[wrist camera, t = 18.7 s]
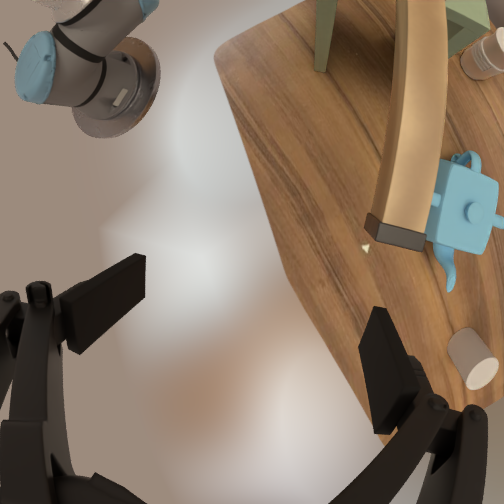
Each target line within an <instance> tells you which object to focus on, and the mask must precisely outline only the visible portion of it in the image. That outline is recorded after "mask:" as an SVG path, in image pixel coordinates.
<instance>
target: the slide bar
mask: <svg viewBox="0 0 504 504" xmlns="http://www.w3.org/2000/svg"><path fill="white" fill-rule="evenodd" d="M447 83H448V35H447V18H446V7H445V0H396V31H395V52H394V67H393V79H392V89H391V98H390V107H389V114H388V122H387V129H386V135H385V142H384V148H383V154H382V160H381V165H380V171H379V176H378V181H377V186H376V191H375V195H374V200H373V205H372V209H371V213H367V217H366V221H365V225H364V229H365V230H366V231H367V232H368V233H369V234H370V235H371V237H372V238H373V239H374V240H375V241H377V242H381V243H385V244H389V245H394V246H398V247H402V248H406V249H410V250H414V251H418V252H422V251H423V248H424V245H425V241H426V238H427V234H425V233H424V231H425V227H426V223H427V219H428V215H429V211H430V207H431V202H432V198H433V193H434V188H435V183H436V178H437V172H438V167H439V161H440V154H441V148H442V140H443V132H444V124H445V113H446V101H447Z"/></svg>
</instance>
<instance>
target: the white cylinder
mask: <svg viewBox="0 0 504 504" xmlns="http://www.w3.org/2000/svg"><path fill="white" fill-rule="evenodd" d="M447 352H448V354H449V356H450V358H451V359H452V361H453V363H454V364H455V366H456V368H457V370H458V371H459V373H460V375H461V377H462V378H463V380H464V382H465V384H466V386H467V387H468V388H469V389H471V390H476V389H479V388H482V387H483V386H485V385H486V384H487V383H489V382H490V381H491V380H492V378H493V377H494V376H495V374H496V372H497V370H498V366H499V363H498V360H497V359H496V357H495V356H494V355H493V354H492V352H491V351H490V350H489V348H488V347H487V346H486V344H485V343H484V342H483V341H482V339H481V338H480V337H479V336H478V334H477V333H476V332H475V331H474V330H473V329H472V328H463V329H461V330H459V331H458V332H456V333H455V334H454V335H453V336H452V338H451V339H450V341H449V343H448V346H447Z"/></svg>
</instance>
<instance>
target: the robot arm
mask: <svg viewBox="0 0 504 504" xmlns="http://www.w3.org/2000/svg"><path fill="white" fill-rule="evenodd" d="M33 1H35V2H37V3H40V4H42V5H44V6H47V7H49V8H51V9H52V19H53V21H55V22H56V25H55V26H54V27H53V28H52V29H51V31H50V32H48V31H41V32H38V33H37V34H36V35H33V36H32V37H31V38H30V39H29V41H28V42H27V43H26V45H25V46H24V48H23V50H22V52H21V54H20V56H19V58H18V57H17V56H16V55H15V53H14V51H13V50H12V49H11V47H10V46H9V45H8V44H7V43H6V42H4V43H3V44H4V45H5V46H6V47H7V48H8V50H9V51H10V52H11V54H12V56H13V57H14V59H15V60H16V61H17V66H16V73H15V88H16V91H17V93H18V96H19V97H20V98H21V99H22V100H24V101H27V102H32V103H36V104H50V105H59V106H68V107H75V108H76V109H78V110H79V111H80V112H82V113H83V114H85V115H86V116H88V117H90V118H92V119H97V120H107V119H110V118H113V117H115V116H117V115H118V114H120V113H121V112H122V111H123V110H124V109H125V108H126V107H127V106H128V104H129V103H130V102H131V100H132V98H133V97H134V95H135V92H136V90H137V87H138V83H139V68H138V65H137V63H136V61H135V59H134V58H133V57H132V56H130V55H128V54H126V53H124V52H121V51H112V50H113V49H114V48H115V47H116V46H117V45H118V44H119V43H120V42H121V41H122V40H123V39H124V38H125V37H126V36H127V35H128V34H129V33H130V32H131V31H133V30H134V29H135V28H136V27H137V26H138V25H139V24H140V23H142V22H144V20H145V19H146V18H147V17H148V16H149V15H150V14H151V13H152V12H153V11H154V10H155V9H156V8H157V7H158V4H159V0H33ZM145 270H146V256H145V255H141V254H137V253H134V254H133V255H131V256H129V257H127V258H126V259H124V260H122V261H120V262H119V263H117V264H115V265H113V266H111V267H110V268H108V269H106V270H105V271H103V272H101V273H99V274H98V275H96V276H94V277H93V278H91V279H89V280H87V281H83V282H80V283H78V284H76V285H74V286H73V287H71V288H69V289H68V290H67V291H64V292H63V293H61V294H59V295H58V296H56V297H55V298H53V296H52V289H51V284H50V283H48V282H46V281H35V282H32V283H30V284H29V285H27V287H26V293H27V299H28V303H24V302H21V300H20V296H19V293H17V292H15V291H5V292H3V293H1V294H0V409H1V406H2V404H3V401H4V399H5V396H6V394H7V391H8V389H9V386H10V384H11V382H12V379H13V382H12V390H11V400H10V411H9V420H3V421H2V422H1V428H0V484H1V487H0V504H147V503H145V502H144V501H142V500H141V499H140V498H138V497H137V496H135V495H134V494H133V493H131V492H130V491H129V490H127V489H126V488H125V487H123V486H121V485H119V484H117V483H115V482H113V481H111V480H109V479H106V478H105V477H103V476H101V475H99V474H98V473H96V472H95V473H94V475H93V476H92V477H91V478H89V477H85V476H77V475H75V473H74V471H73V468H72V464H71V459H70V453H69V447H68V440H67V431H66V422H65V411H64V397H63V371H62V370H63V369H62V368H63V367H62V354H63V351H62V350H63V349H62V344H61V343H62V342H63V341H64V340H65V339H66V341H67V346H68V349H69V350H71V351H73V352H75V353H77V354H79V355H80V354H82V353H83V352H84V351H85V350H86V349H87V348H88V347H89V346H90V345H92V344H93V343H94V342H95V341H96V340H97V339H98V338H99V337H100V336H102V335H103V334H104V333H105V332H106V331H107V330H108V329H109V328H110V327H112V326H113V325H114V324H115V323H116V322H117V321H118V320H120V319H121V318H122V317H123V316H124V315H125V314H127V313H128V312H129V311H130V310H131V309H132V308H133V307H134V306H136V305H137V304H138V303H139V302H140V301H141V300H143V298H145ZM358 349H359V353H360V358H361V363H362V368H363V372H364V378H365V383H366V388H367V393H368V399H369V405H370V411H371V417H372V423H373V429H374V434H384V435H390V434H391V433H392V432H393V430H394V429H395V427H396V426H397V429H398V432H397V433H396V434H395V435H394V436H393V438H392V439H391V440H390V441H389V442H388V444H387V445H386V446H385V447H384V448H383V450H382V451H381V452H380V453H379V454H378V455H377V456H376V457H375V458H374V460H373V461H372V462H371V463H370V464H369V465H368V466H367V467H366V468H365V469H364V470H363V471H362V472H361V473H360V474H359V475H358V476H357V477H356V478H355V479H354V480H353V481H352V482H351V483H350V484H349V485H348V486H347V487H346V488H345V489H344V490H343V491H342V492H341V493H340V494H339V495H338V496H336V497H335V498H334V499H333V500H332V501H331V502H330V503H328V504H389V503H390V502H391V500H392V499H393V498H394V496H395V495H396V494H397V493H398V491H399V490H400V489H401V487H402V486H403V485H404V483H405V482H406V481H407V479H408V478H409V476H410V475H411V474H412V472H413V471H414V469H415V468H416V466H417V465H418V463H419V462H420V460H421V459H422V457H423V455H424V454H425V452H429V453H431V457H430V461H429V465H428V469H427V472H426V476H425V479H424V482H423V486H422V489H421V492H420V495H419V497H418V500H417V503H416V504H482V500H483V494H484V486H485V477H486V466H487V448H488V418H487V414H486V413H485V411H484V410H483V409H482V408H481V407H479V406H477V405H473V404H471V405H467V406H466V407H465V408H464V410H463V411H462V412H459V411H455V410H452V409H449V405H448V403H447V401H446V400H445V399H444V398H443V397H441V396H440V395H437V394H434V392H433V390H432V388H431V385H430V383H429V381H428V378H427V377H426V374H425V372H424V371H423V370H424V369H423V367H422V365H421V363H420V362H419V361H418V360H417V359H416V358H415V356H409V355H407V353H406V350H405V348H404V346H403V344H402V341H401V339H400V337H399V335H398V332H397V330H396V328H395V326H394V324H393V322H392V319H391V317H390V315H389V313H388V311H387V309H386V308H382V307H377V306H374V307H373V310H372V312H371V315H370V318H369V321H368V323H367V326H366V329H365V331H364V334H363V336H362V339H361V341H360V344H359V346H358Z"/></svg>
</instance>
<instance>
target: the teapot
mask: <svg viewBox="0 0 504 504" xmlns="http://www.w3.org/2000/svg"><path fill="white" fill-rule="evenodd" d="M470 160H471V169H470V168H468V167H465V165H466V164H467V163H468V162H469V161H470ZM480 172H481V159H480V157H479V155H478V154H477V153H476V152H474V151H466V152H465V153H463V154H462V155H460V154H457V153H456V154H454V155H453V156H452V158H451V161H447V160H444V159H440V161H439V167H438V172H437V178H436V183H435V188H434V193H433V198H432V202H431V207H430V211H429V215H428V219H427V223H426V227H425V231H424V233H425V234H427V238H426V240H427V241H430V242H433V251H434V255H435V257H436V259H437V260H438V262H439V263H440V265H441V266H442V267H443V269H444V270H445V273H446V277H447V284H446V289H447V292H451V291H452V289H453V287H454V285H455V281H456V268H455V265H454V261H453V254H454V249H457V250H461V251H465V252H470V253H474V254H479V255H481V254H482V253H483V252H484V249H485V247H486V245H487V242H488V239H489V236H490V232H491V229H492V226H494V227H497V228H500V229H504V217H502V216H499V215H497V214H495V212H496V207H497V200H498V191H499V185H498V182H497V181H495V180H493V179H491V178H489V177H487V176H485V175H483V174H481V173H480Z"/></svg>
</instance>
